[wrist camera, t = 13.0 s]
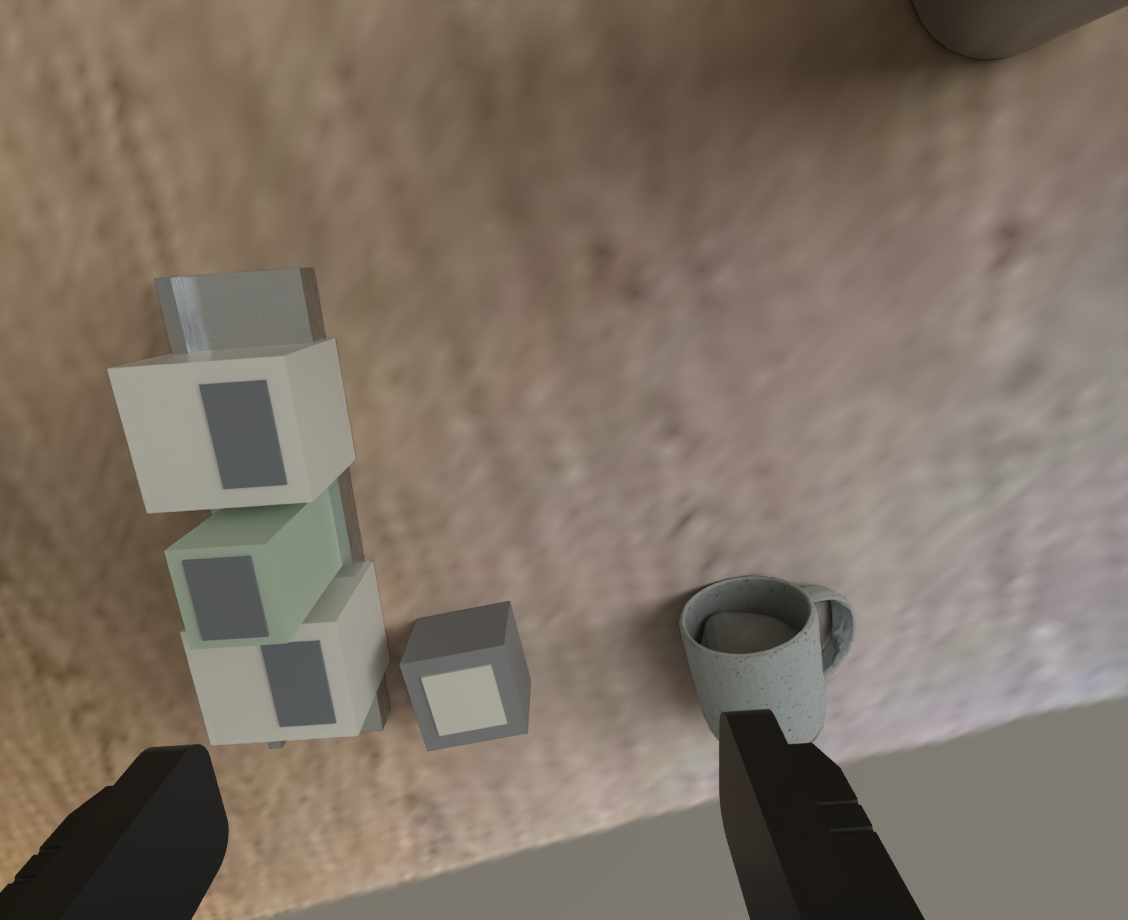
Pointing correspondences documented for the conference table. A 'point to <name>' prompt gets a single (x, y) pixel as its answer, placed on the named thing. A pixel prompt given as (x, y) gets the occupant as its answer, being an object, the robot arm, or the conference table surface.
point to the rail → (255, 319)
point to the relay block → (467, 676)
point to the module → (254, 572)
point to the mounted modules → (256, 478)
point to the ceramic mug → (765, 650)
